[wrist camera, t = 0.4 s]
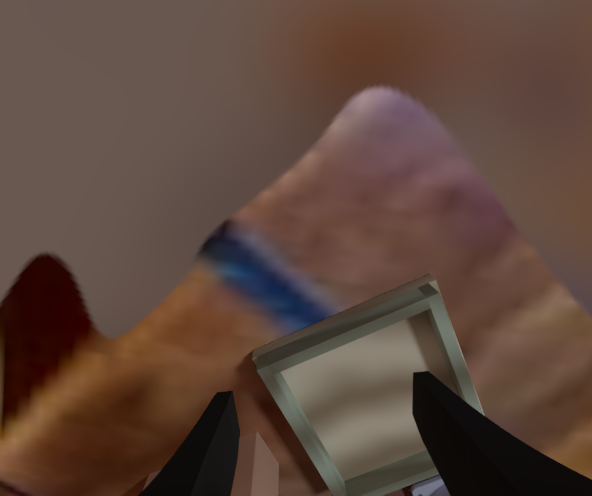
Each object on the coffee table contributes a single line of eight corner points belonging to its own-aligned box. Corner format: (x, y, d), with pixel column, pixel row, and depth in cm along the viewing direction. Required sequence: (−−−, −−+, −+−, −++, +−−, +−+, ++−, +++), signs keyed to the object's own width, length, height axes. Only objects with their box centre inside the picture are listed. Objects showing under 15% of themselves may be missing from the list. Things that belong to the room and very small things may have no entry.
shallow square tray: (483, 423, 26) (503, 450, 24) (331, 480, 28) (336, 512, 25) (429, 274, 22) (446, 289, 20) (253, 350, 23) (249, 373, 21)
